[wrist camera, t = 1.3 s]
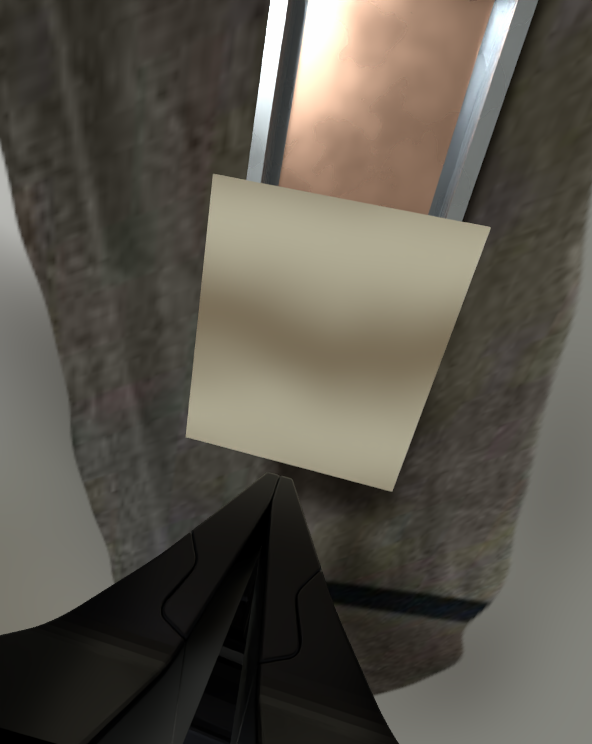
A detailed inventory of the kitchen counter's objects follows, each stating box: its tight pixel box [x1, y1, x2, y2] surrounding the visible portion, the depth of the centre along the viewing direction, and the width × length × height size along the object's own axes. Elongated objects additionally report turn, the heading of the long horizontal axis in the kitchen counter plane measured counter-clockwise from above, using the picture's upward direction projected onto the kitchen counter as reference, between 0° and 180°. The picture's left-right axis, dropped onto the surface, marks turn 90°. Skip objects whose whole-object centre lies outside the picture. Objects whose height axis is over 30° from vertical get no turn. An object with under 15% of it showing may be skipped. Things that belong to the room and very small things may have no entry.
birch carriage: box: [186, 174, 491, 492], centre depth 14 cm, size 10×9×8 cm
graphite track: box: [247, 0, 538, 222], centre depth 15 cm, size 29×12×4 cm, turn 168°
